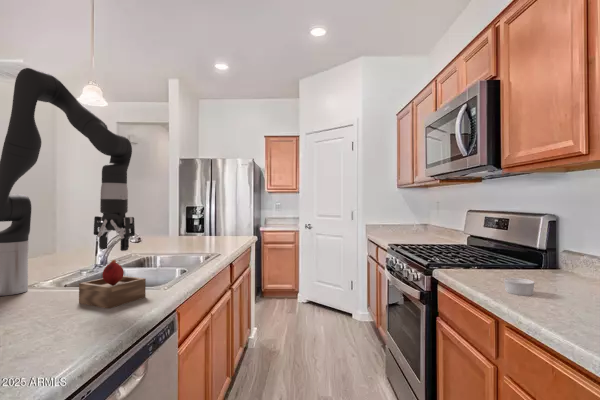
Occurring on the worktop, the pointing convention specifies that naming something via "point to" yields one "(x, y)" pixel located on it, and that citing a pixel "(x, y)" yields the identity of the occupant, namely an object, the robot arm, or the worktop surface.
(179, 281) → the worktop surface
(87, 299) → the wooden box
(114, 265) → the onion
